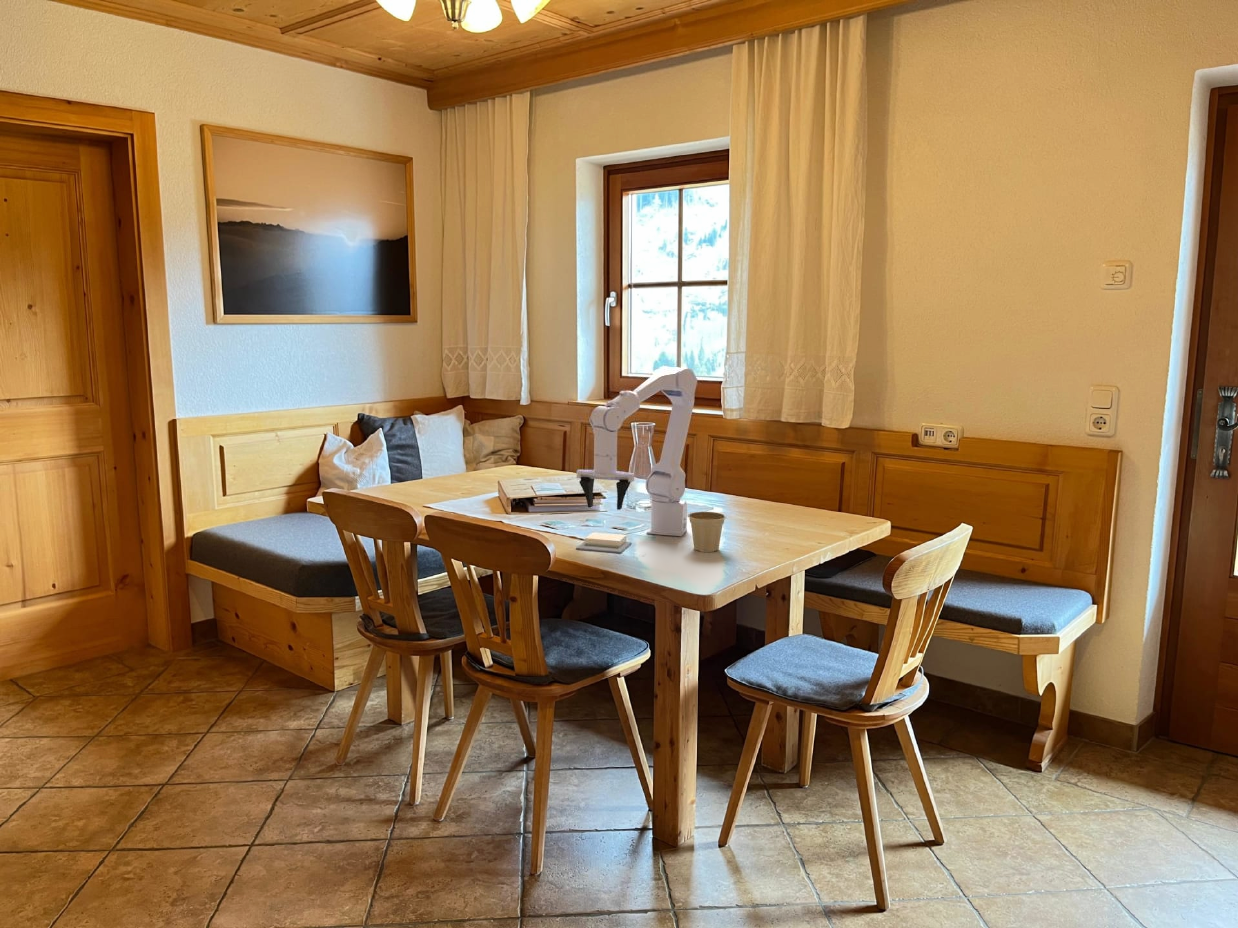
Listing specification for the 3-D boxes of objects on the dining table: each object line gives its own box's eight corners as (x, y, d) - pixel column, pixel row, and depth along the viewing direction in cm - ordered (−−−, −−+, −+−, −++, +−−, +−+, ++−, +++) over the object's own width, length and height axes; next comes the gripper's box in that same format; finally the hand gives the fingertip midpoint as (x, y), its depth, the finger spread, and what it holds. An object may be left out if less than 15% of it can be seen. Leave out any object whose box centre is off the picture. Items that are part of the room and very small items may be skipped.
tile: (626, 535, 237) (619, 541, 231) (626, 541, 237) (619, 547, 231) (592, 532, 239) (585, 538, 233) (592, 538, 239) (585, 544, 233)
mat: (631, 543, 236) (631, 542, 236) (620, 553, 227) (620, 551, 227) (588, 540, 239) (588, 538, 239) (576, 549, 230) (576, 547, 230)
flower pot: (698, 555, 226) (699, 521, 225) (680, 546, 235) (681, 513, 233) (731, 552, 230) (733, 518, 228) (713, 543, 238) (714, 510, 237)
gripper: (572, 455, 230) (572, 508, 232) (629, 458, 226) (628, 513, 228) (581, 451, 237) (581, 503, 239) (636, 454, 233) (635, 507, 235)
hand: (604, 507), depth 234 cm, fingers open, 7 cm apart
